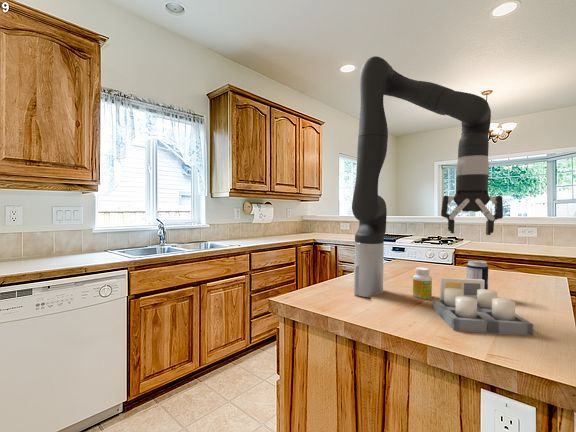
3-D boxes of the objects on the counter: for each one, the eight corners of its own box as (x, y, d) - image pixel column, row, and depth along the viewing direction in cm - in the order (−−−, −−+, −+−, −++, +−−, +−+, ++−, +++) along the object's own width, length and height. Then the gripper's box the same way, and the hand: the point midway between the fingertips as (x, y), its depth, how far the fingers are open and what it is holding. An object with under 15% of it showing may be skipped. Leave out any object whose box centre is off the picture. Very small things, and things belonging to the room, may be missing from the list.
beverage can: (490, 303, 92) (491, 263, 92) (470, 301, 94) (471, 262, 93) (482, 297, 98) (483, 260, 98) (463, 296, 99) (464, 259, 99)
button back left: (447, 307, 78) (447, 291, 78) (441, 302, 83) (441, 287, 83) (465, 308, 78) (466, 292, 78) (459, 302, 82) (459, 288, 82)
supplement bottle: (423, 303, 92) (423, 271, 92) (408, 298, 97) (409, 267, 97) (435, 300, 95) (435, 269, 94) (420, 296, 99) (421, 266, 99)
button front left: (459, 318, 70) (459, 301, 70) (452, 311, 75) (452, 295, 75) (480, 319, 70) (480, 302, 70) (471, 313, 74) (472, 296, 74)
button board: (453, 334, 69) (454, 295, 69) (430, 309, 87) (431, 277, 86) (532, 340, 66) (533, 299, 66) (492, 312, 84) (493, 279, 84)
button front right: (497, 320, 69) (497, 303, 69) (488, 313, 74) (488, 297, 73) (519, 321, 68) (519, 304, 68) (508, 315, 73) (508, 298, 73)
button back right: (481, 309, 77) (481, 293, 77) (473, 303, 81) (474, 288, 81) (500, 310, 76) (500, 294, 76) (491, 304, 81) (492, 289, 81)
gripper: (444, 173, 82) (441, 233, 82) (507, 172, 76) (504, 236, 77) (441, 176, 89) (439, 231, 89) (499, 175, 83) (497, 234, 84)
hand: (469, 234), depth 83 cm, fingers open, 8 cm apart
